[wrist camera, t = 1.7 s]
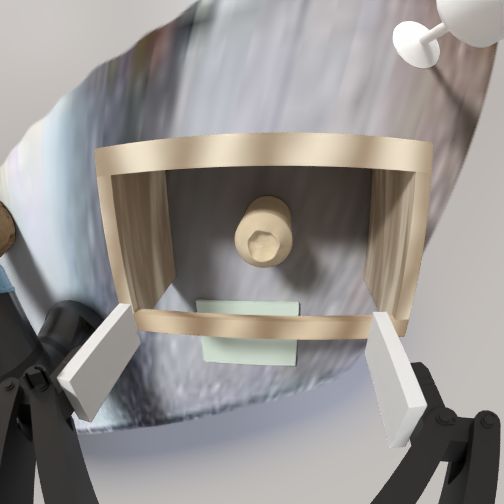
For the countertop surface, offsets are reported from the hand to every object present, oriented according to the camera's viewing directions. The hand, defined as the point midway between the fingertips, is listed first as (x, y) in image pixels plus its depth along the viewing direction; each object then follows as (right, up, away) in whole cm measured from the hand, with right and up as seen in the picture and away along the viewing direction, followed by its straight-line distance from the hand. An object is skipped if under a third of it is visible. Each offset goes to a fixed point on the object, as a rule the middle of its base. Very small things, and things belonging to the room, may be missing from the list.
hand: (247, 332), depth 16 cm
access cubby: (+2, +9, +21) cm, 23 cm away
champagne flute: (+20, +30, +11) cm, 38 cm away
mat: (0, -8, +28) cm, 29 cm away
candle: (+2, +8, +22) cm, 23 cm away
